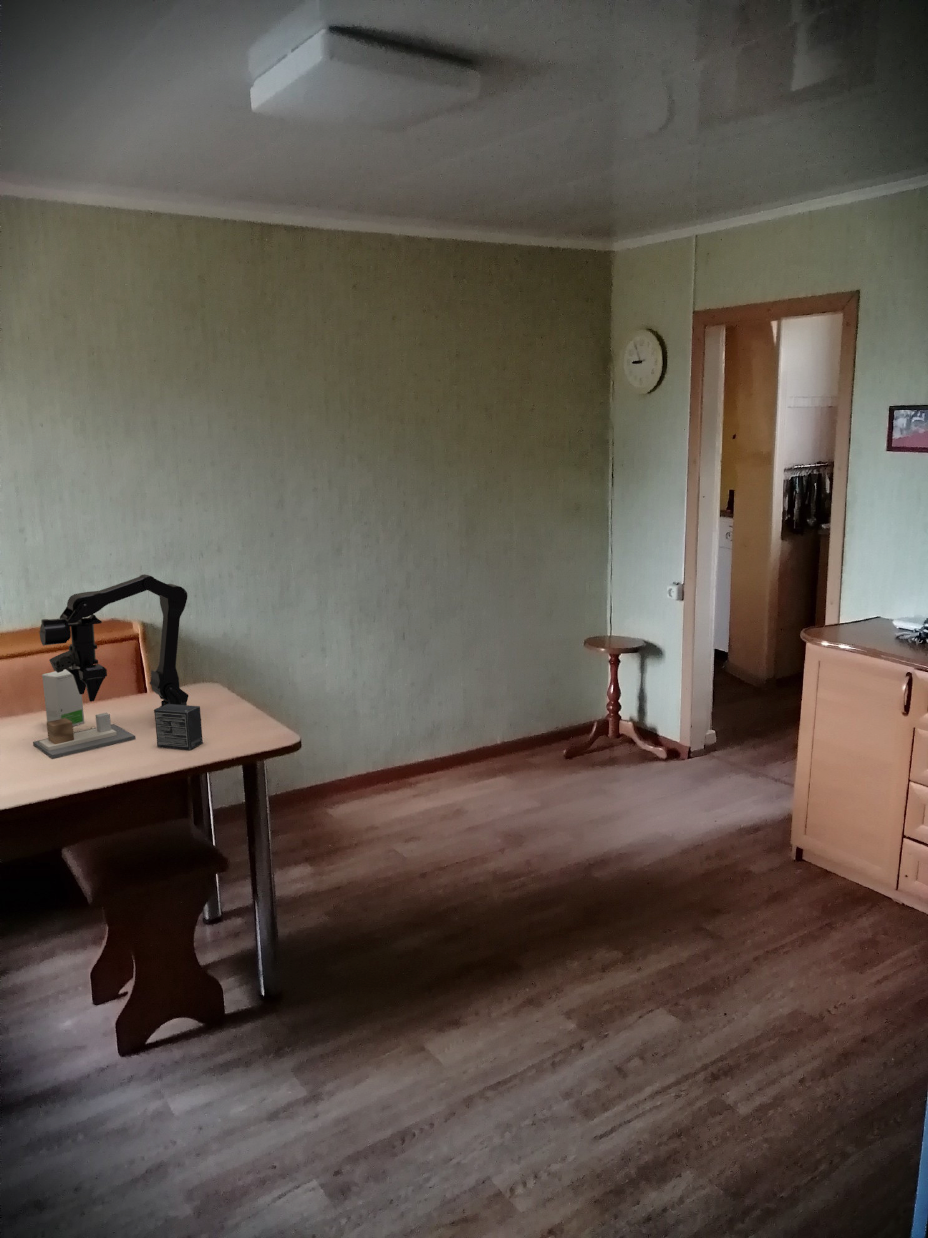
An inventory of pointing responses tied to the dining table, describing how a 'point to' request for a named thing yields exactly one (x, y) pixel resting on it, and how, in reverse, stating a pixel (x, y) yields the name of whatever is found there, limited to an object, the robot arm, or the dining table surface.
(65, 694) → the skincare box
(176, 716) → the small box
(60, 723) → the walnut block
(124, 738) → the charcoal board
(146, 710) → the dining table surface
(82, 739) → the off-white strip
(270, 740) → the dining table surface
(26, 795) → the dining table surface
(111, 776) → the dining table surface
